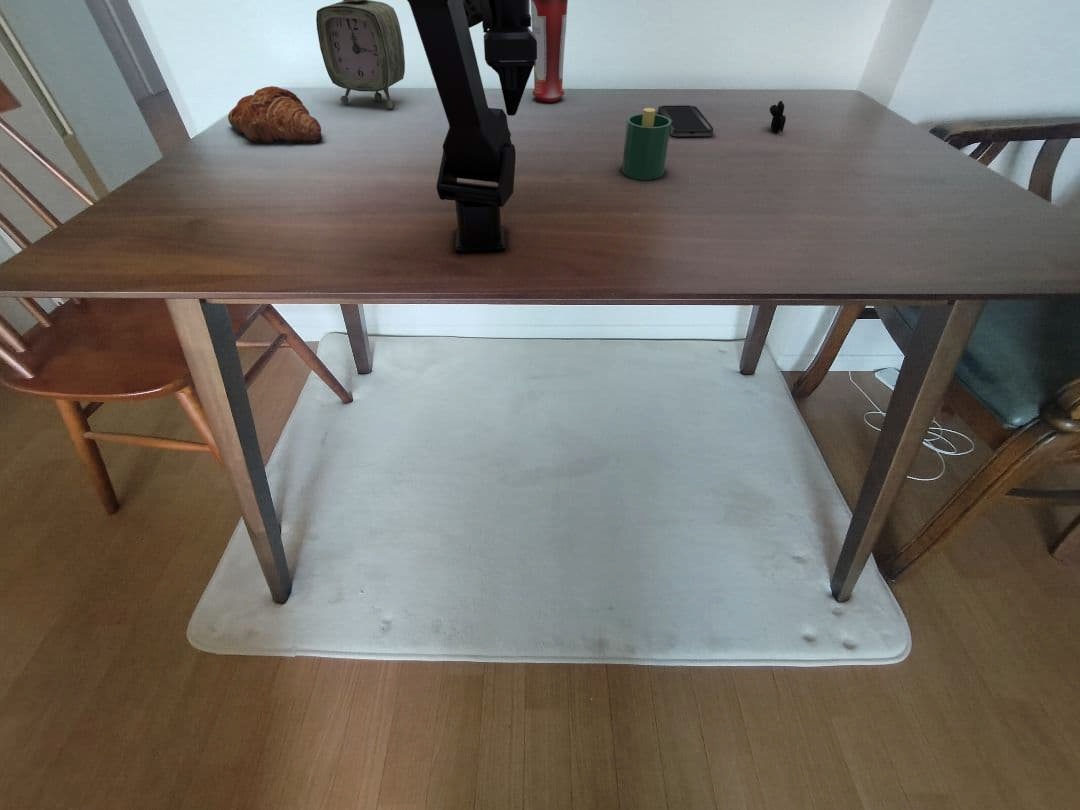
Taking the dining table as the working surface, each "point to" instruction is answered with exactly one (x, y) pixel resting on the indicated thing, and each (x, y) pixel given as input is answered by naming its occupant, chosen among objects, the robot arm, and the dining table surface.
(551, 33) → the liquor
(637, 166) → the cup
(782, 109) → the black figurine
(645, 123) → the yellow rod
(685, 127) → the phone
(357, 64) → the tabletop clock
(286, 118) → the pastry
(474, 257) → the dining table surface
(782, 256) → the dining table surface
